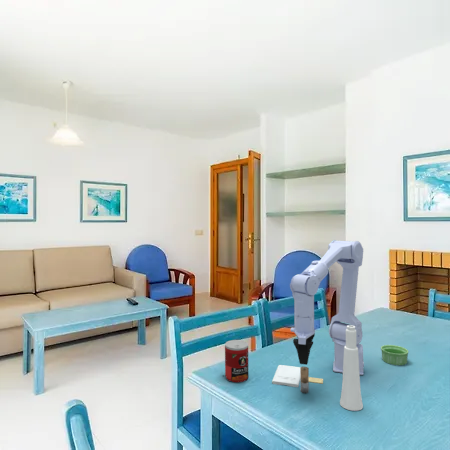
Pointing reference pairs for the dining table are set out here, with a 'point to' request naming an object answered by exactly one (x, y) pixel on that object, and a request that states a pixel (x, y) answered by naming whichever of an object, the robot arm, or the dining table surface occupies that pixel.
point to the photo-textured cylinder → (304, 379)
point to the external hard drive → (287, 376)
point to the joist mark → (315, 380)
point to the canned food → (236, 360)
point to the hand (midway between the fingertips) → (304, 360)
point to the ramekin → (394, 354)
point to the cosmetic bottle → (351, 373)
